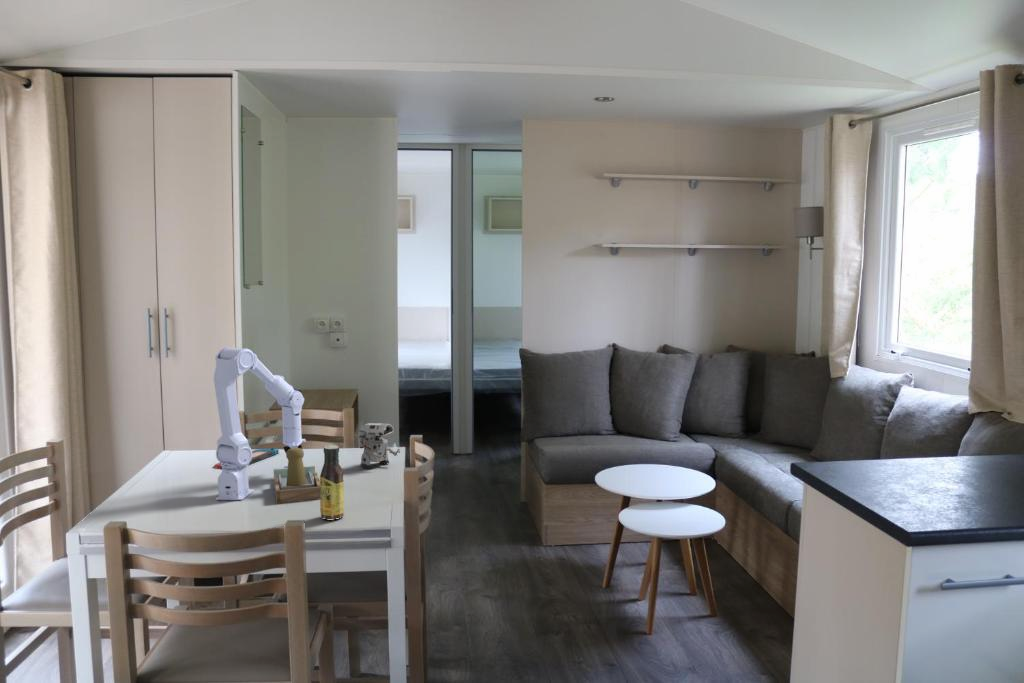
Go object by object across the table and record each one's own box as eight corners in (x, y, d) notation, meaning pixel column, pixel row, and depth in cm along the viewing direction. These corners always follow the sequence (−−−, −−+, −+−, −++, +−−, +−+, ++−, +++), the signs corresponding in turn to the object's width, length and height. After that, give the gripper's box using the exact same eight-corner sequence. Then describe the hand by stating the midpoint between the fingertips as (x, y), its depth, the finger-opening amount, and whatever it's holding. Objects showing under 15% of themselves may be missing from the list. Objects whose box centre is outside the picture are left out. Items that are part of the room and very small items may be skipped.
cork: (296, 485, 234) (294, 448, 235) (281, 486, 237) (279, 449, 238) (311, 483, 239) (309, 447, 240) (296, 484, 242) (294, 448, 243)
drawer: (319, 489, 237) (319, 478, 237) (276, 493, 233) (275, 483, 233) (314, 473, 255) (313, 463, 255) (273, 477, 251) (273, 467, 251)
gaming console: (258, 447, 289) (280, 447, 285) (259, 454, 289) (281, 454, 286) (211, 463, 267) (234, 464, 263) (212, 471, 267) (235, 471, 263)
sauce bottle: (316, 517, 214) (313, 446, 212) (337, 512, 218) (335, 442, 216) (327, 523, 209) (325, 450, 207) (348, 518, 213) (346, 446, 211)
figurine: (379, 472, 258) (378, 427, 257) (357, 466, 266) (356, 423, 264) (400, 467, 265) (399, 423, 264) (378, 461, 273) (377, 418, 271)
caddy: (322, 498, 231) (321, 487, 231) (276, 503, 227) (276, 491, 227) (317, 483, 247) (316, 472, 246) (274, 487, 243) (274, 476, 242)
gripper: (306, 430, 247) (308, 472, 248) (303, 421, 261) (304, 461, 262) (283, 432, 245) (285, 475, 246) (280, 423, 258) (282, 463, 260)
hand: (293, 468), depth 254 cm, fingers closed
